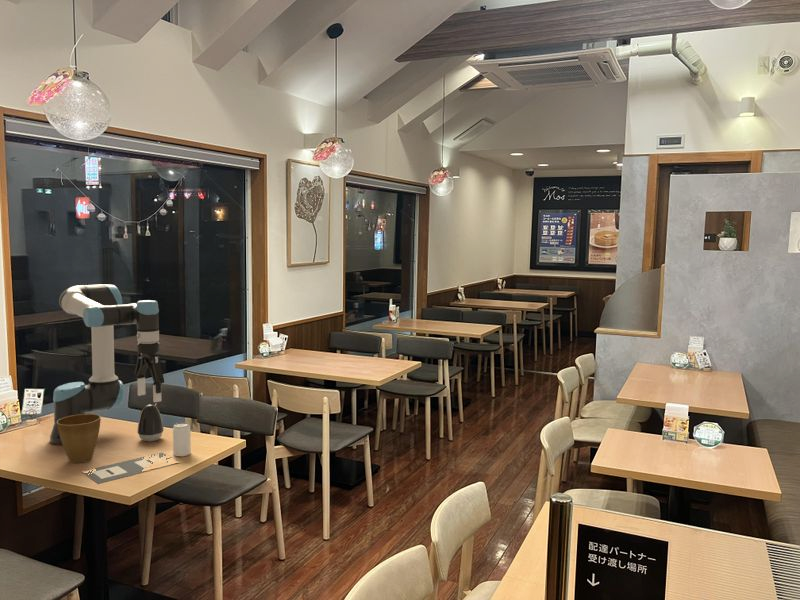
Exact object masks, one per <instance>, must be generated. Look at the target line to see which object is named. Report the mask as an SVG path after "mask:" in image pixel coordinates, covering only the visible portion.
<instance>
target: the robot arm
mask: <svg viewBox="0 0 800 600" xmlns="http://www.w3.org/2000/svg"><path fill="white" fill-rule="evenodd" d="M58 304H59V307H60V308H61V309H62V311H64V312H65V313H67V314H69V315H77V316H78V317H80V318H82V321H83V323H84V325H85V326H86V327H87V328H90V330H91V361H92V362H91V363H92V364H91V366H92V369H91V370H92V375H91V376H90V377H89V379H88V384H85V382H83V381H75V382H74V381H73V382H67V383H64V384H62V385H61V384H60V385H58V386H57V387H56V388H55V389H54V390H53V396H52V397H53V398H52V401H53V419H54V420H53V421H54V422H53V426H52V429H51V432H50V436H49V443H50V444H52V443H53V444H52V445H57V444H59V445H62V442H61V439H60V435H59V431H58V427H57V421H58V420H59V419H61V418H64V417H68V416H73V415H79V414H87V413H91V412H96V411H98V412H99V411H104V410H110V409H114V408H118V407H119V406H120V405H121V404H122V402H123V400H124V396H125V388H124V383H123V381H122V380H119V376H118V375H116V374H115V337H114V335H115V333H114V332H115V331H114V328H115V327H114V326H124V325H136V331H137V332H136V337H137V342H138V343H136V344H137V347H136V348H137V350H136V351H137V355H136V357H137V359H136V364H135V369H134V373H133V374H134V376H135V377H136V380H137V382H136V383H137V396H139V397H141V396H146V393H147V392H146V377H147V376H146V372H147V370H149V372H150V375H151V377H152V378H151V379H152V380H153V382H152V397H153V398H152V399H153V401H152V402H153V403H159V402H162V384H164V383H165V377H164V373H163V370H162V365H161V364H162V363H161V358H160V356H156V354H158V353H159V352H160V342H159V341H160V330H159V329H160V327H159V323H160V321H159V319H160V318H159V312H160V309H159V302H158V301H157V300H151V299H146V300H145V299H144V300H138V301H137V302H131V303H128V304H123V299H122V294H121V292H120V290H119V288H118V287H117V286H116V285H115V284H101V283H99V284H88V285H87V284H85V285H84V284H82V285H81V284H80V285H73V286H70V287H68V288H66V289H65V290H64V291H63V292H62V293H61V294H60V296H59V299H58ZM59 445H58V446H59ZM62 446H63V445H62Z"/></svg>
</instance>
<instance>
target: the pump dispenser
mask: <svg viewBox="0 0 800 600" xmlns="http://www.w3.org/2000/svg"><path fill="white" fill-rule="evenodd" d="M158 406H159V404H158V402H155V404H153V403H152V404H151V403H149V404H146V405H145V406H144V407H143V408H142V410H141V412H140V416H139V419H138V423H137V434H138V437H139V438H140V439H141V441H143V442H146V441H147V443H148V442H149V443H151V441H152V442H156V441H158V440H159V439H161V437H162V435H163V432H164V430H165V429H164V423H163V419H162V416H161V412H160V410H159V409H158Z"/></svg>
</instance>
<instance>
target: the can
mask: <svg viewBox="0 0 800 600" xmlns="http://www.w3.org/2000/svg"><path fill="white" fill-rule="evenodd" d="M191 445H192V444H191V427H190V424H189V422H177V423H174V424H173V427H172V449H173V450H172V454H173V456H174V457H176V456H184V457H187V456H186V455H188V456H189V455H190V454H191V452H192V451H191V450H192V448H191Z"/></svg>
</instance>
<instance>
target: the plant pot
mask: <svg viewBox="0 0 800 600" xmlns="http://www.w3.org/2000/svg"><path fill="white" fill-rule="evenodd" d="M101 421H102V420H101V415H99V414H97V413H86V414H79V415H73V416H68V417H64V418H61V419H59V420H58V421H57V427H58V431H59V435H60V439H61V442H62V448H63V449H64V452H65V454H66V456H67V458H68V461H69V462H70V463H72V464H82V462H83V463H87V462H89V461H91V460H92V459H93V456H94V453H95V451H96V446H97V442H98V439H99V436H100V435H99V433H100V428H101ZM86 461H87V462H86Z"/></svg>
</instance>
